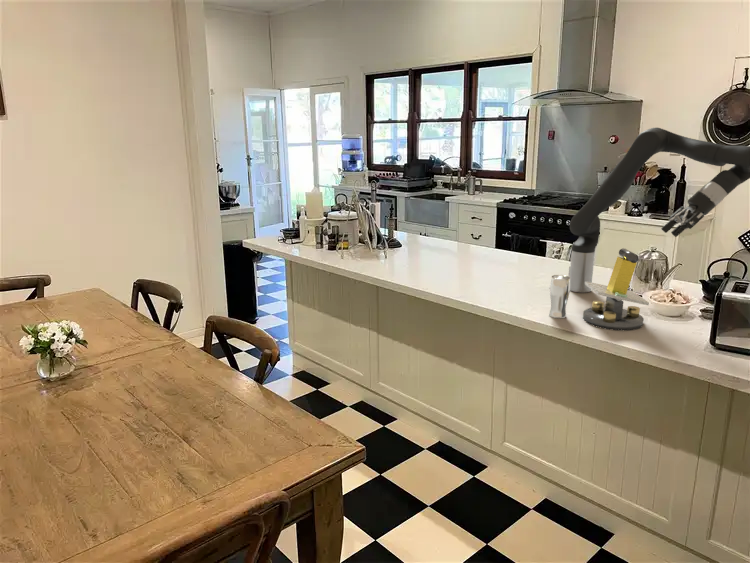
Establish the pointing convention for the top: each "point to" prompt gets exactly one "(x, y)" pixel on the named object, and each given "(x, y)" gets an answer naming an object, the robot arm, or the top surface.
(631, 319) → the disc with brass knobs
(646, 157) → the robot arm
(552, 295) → the beer glass
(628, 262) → the yellow block with roller
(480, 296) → the top surface
